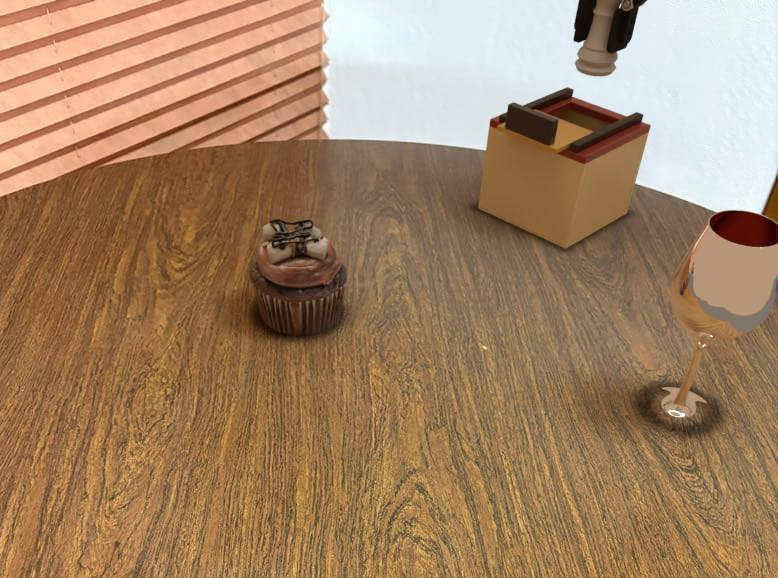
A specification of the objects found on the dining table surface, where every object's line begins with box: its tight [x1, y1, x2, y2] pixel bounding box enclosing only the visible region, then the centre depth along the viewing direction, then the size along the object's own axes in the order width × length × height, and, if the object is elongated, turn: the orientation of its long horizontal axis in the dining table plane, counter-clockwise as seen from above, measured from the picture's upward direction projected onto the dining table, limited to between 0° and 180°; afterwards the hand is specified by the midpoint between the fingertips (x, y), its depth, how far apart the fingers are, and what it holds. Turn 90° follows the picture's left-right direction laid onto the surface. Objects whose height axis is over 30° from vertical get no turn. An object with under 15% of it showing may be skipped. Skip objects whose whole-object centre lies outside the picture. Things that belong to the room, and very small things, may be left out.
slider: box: [497, 102, 593, 154], centre depth 93 cm, size 7×8×3 cm
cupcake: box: [248, 217, 349, 337], centre depth 83 cm, size 10×10×10 cm
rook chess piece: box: [574, 0, 622, 78], centre depth 89 cm, size 4×4×8 cm
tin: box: [477, 87, 651, 250], centre depth 100 cm, size 13×13×12 cm
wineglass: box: [660, 209, 778, 419], centre depth 72 cm, size 8×8×18 cm
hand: (600, 42), depth 90 cm, fingers closed on rook chess piece, 3 cm apart
